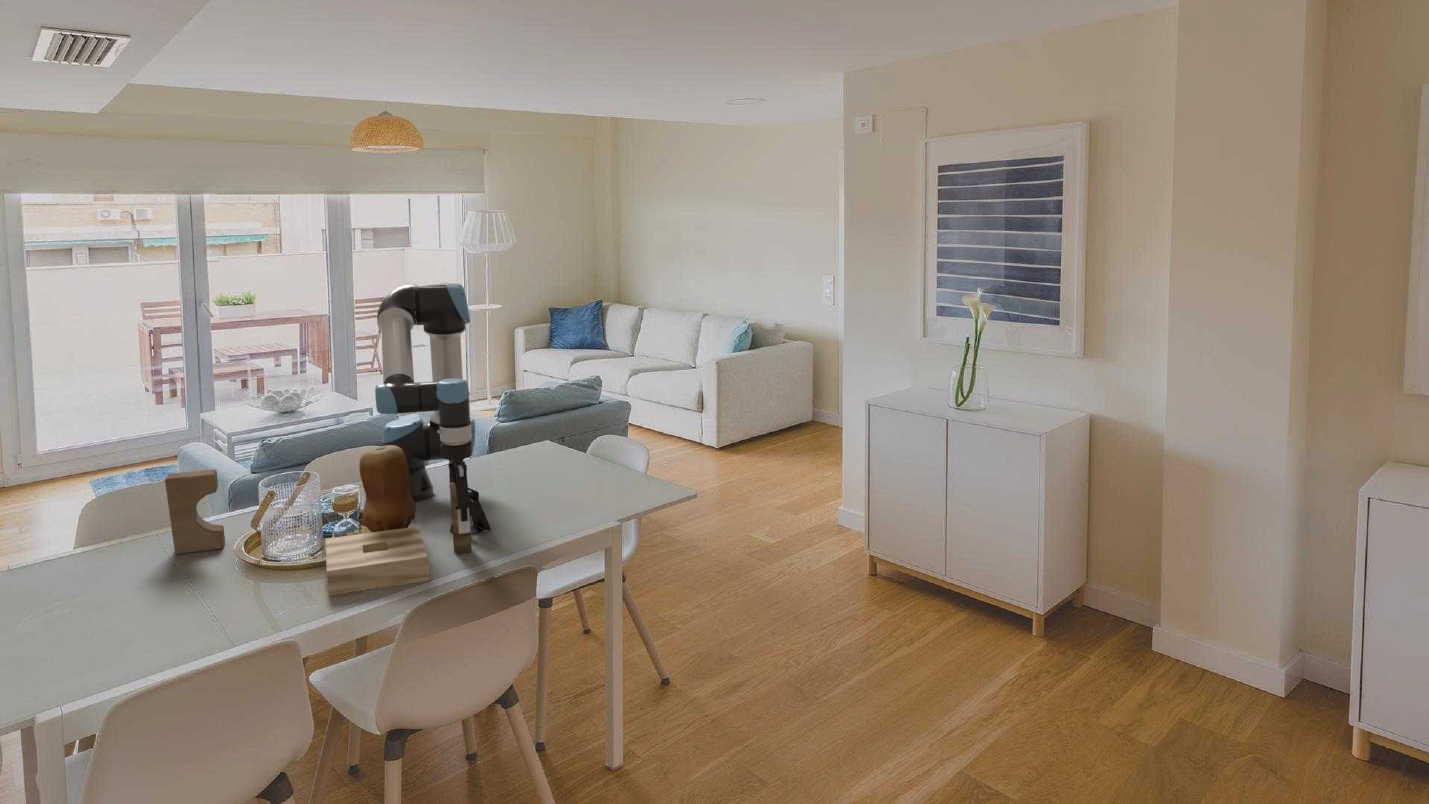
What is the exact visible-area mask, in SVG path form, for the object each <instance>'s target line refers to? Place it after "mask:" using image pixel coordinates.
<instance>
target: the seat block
mask: <svg viewBox="0 0 1429 804" xmlns="http://www.w3.org/2000/svg"><path fill="white" fill-rule="evenodd" d="M324 540H325V558H326V559H325V560H326V563H325V564H326V578H327V586H328V587H327V588H328V596H329V597H331V596H337V595H342V594H348V593H347V592H351V593H353V592H352V591H357V592H362V591H361V590H363V589H364V591H367V590H366V589H371V590H374V589H373V588H377V589H382V588H388V587H389V588H390V587H397V586H402V585H408V584H417V583H424V582H429V581H430V568H429V556H428V553H427V550H426V546H425V543H424V540H423V537H422V533H421V531H420V528H419V526H412V527H411V526H409V527H408V528H402V529H395V530H387V531H379V532H364V533H359V534H351V535H350V534H349V535H344V536H335V537H328V538H327V537H326V538H325V539H324Z"/></svg>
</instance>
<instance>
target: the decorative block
mask: <svg viewBox="0 0 1429 804" xmlns="http://www.w3.org/2000/svg"><path fill="white" fill-rule="evenodd" d="M164 483H165V490H166V491H165V493H166V499H167V504H168V505H167V506H168V511H169V512H168V513H169V520H170V527H171V534H172V541H173V542H172V543H173V550H174V554H175V555H176V554H178V555H184V554H183V553H185V554H192V552H193V553H200V552H199V551H201V552H207V551H214V550H216V549H217V550H223V548H224V546H225V544H226V537H225V530H224V529H225V528H224V526H223V524H214V523H210V522H208V521H206V520H205V519H203V518H202V517H201V516H200V515H199V512H198V509H197V506H198V505H197V504H199V502H200V501H201V500H203V499H204V498H205V497H206V496H208V495H209V496H210V495H213V494H215V493H216V492H217V491H218V488H219V480H218V471H217V469H215V468H214V469H206V470H205V469H204V470H203V469H202V470H196V471H194V470H193V471H183V472H173V473H168V474H167V476H166V477H165V480H164ZM217 550H216V551H217Z"/></svg>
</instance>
